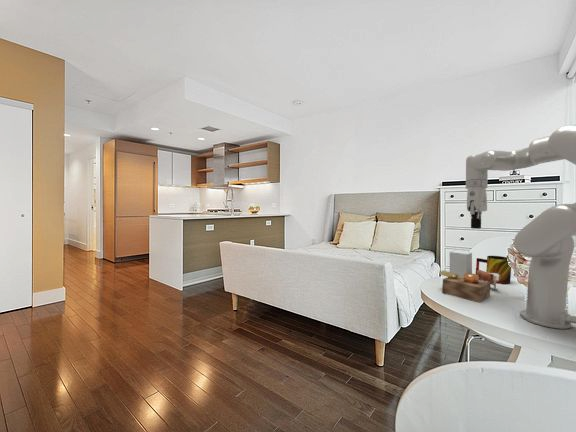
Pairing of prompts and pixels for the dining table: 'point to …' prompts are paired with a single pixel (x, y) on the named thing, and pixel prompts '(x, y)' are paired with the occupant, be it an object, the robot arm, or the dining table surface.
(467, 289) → the block
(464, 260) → the skincare box
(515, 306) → the dining table surface
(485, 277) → the bull figurine
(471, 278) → the orange-brown domed cylinder
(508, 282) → the mug
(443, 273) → the plate
